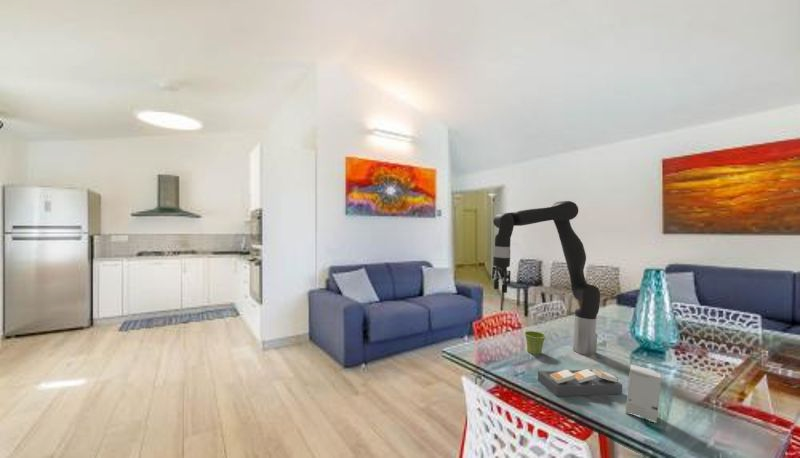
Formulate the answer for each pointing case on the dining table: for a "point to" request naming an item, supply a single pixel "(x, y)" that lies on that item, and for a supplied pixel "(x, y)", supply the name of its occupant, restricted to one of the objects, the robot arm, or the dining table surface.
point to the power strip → (579, 385)
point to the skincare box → (643, 392)
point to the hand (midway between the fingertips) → (500, 290)
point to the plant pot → (534, 341)
